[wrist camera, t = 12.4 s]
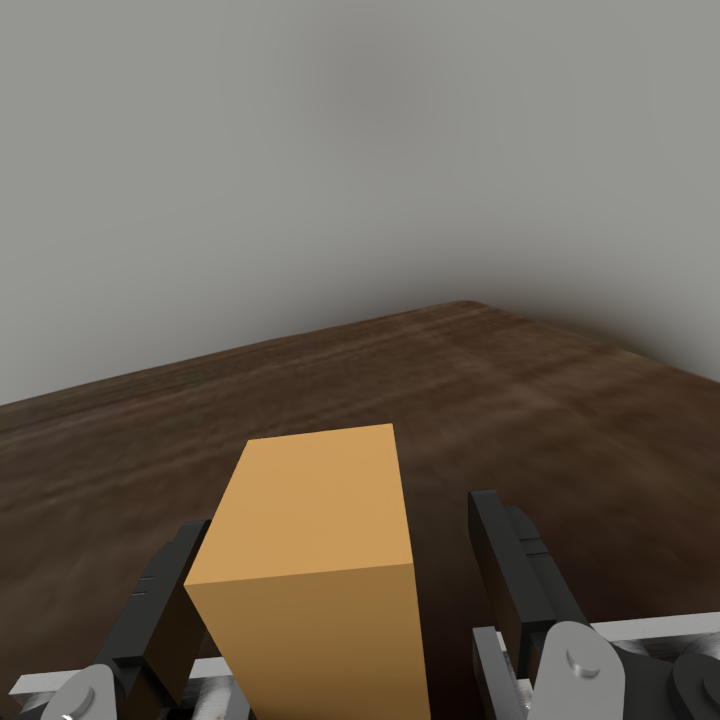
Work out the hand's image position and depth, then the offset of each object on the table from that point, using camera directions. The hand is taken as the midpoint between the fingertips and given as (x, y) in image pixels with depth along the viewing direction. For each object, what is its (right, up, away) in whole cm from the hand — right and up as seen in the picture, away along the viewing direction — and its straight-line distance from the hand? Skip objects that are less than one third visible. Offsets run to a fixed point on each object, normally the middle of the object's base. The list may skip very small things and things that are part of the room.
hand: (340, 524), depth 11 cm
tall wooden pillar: (+1, -9, +2) cm, 9 cm away
